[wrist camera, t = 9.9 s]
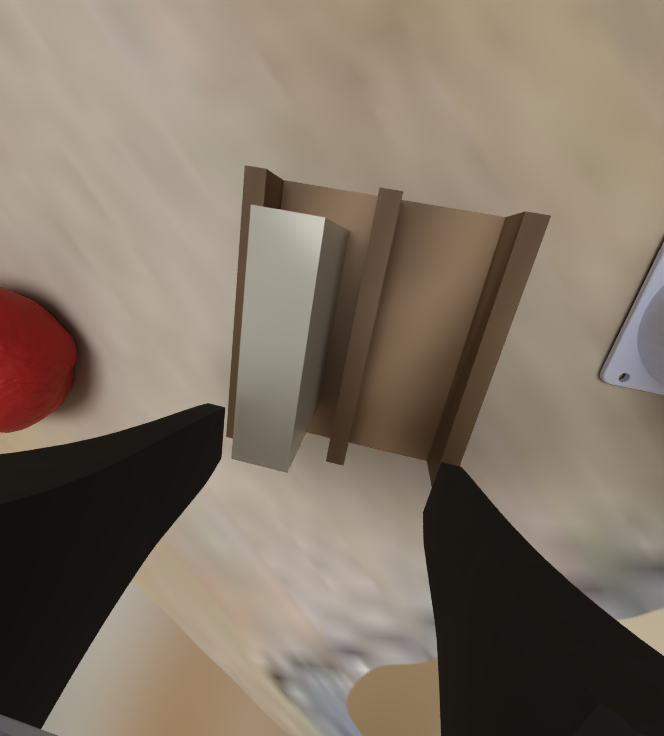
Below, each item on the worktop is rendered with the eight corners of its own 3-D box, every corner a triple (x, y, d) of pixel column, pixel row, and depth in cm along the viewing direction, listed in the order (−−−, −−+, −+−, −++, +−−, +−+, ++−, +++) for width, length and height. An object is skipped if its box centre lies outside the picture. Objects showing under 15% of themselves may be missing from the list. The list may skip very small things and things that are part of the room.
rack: (519, 222, 17) (550, 215, 14) (440, 455, 22) (450, 491, 18) (271, 181, 18) (244, 165, 15) (249, 410, 23) (226, 436, 20)
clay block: (349, 230, 17) (325, 217, 11) (319, 403, 21) (287, 472, 14) (302, 222, 17) (251, 204, 11) (280, 394, 21) (231, 458, 14)
